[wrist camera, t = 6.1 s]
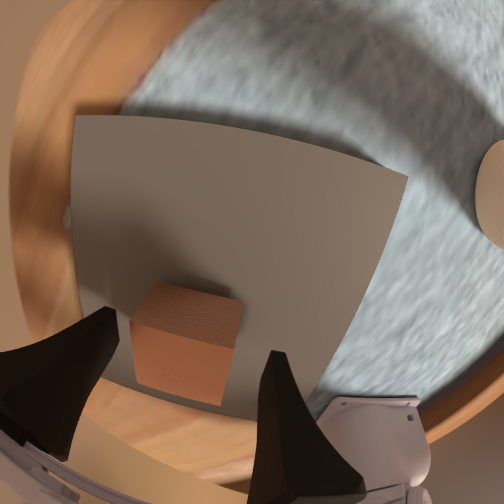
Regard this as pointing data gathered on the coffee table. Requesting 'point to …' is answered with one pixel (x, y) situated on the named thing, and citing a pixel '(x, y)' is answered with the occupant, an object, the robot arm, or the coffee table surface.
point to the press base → (228, 238)
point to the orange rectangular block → (184, 341)
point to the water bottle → (491, 194)
